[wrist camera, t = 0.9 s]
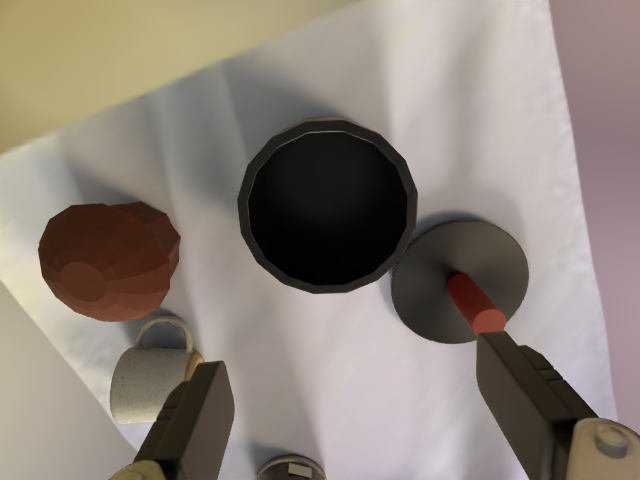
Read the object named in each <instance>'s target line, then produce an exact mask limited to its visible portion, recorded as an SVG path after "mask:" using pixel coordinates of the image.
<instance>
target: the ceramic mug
mask: <svg viewBox="0 0 640 480" xmlns="http://www.w3.org/2000/svg"><path fill="white" fill-rule="evenodd" d="M155 322H168V323H171V324H172V325H174V326H178V327H179V328H181V329H182V331H183V333H184V335H185V340H186V349H162V348H150V347H149V348H146V347H145V348H144V347H142V342H143V338H144V335H145V333H146V331H147V329H148V328H149V327H150V326H151V325H152V324H153V323H155ZM192 346H193V339H192V335H191V331H190V329H189V327H188V325H187V324H186V323H185V322H184V321H182V320H181V319H179V318H177V317H174V316H160V317H156V318H153V319H151V320H149V321H148V322H147V323H146V324H145V325H144V326H143V327H142V328H141V329H140V331H139V333H138V336H137V338H136V341H135V345H134V347H133V348H129V349H128V350H126V351H125V352H124V353H123V354H122V355H121V357H120V359H119V361H118V363H117V365H116V368H115V371H114V374H113V377H112V382H111V390H110V408H111V413H112V415H113V418H114V419H115V421H116V422H118V423H121V424H123V423H134V422H152V421H156V418H157V416H158V414H159V412H160V410H162V407H163V405H164V403H165V401H166V399H167V397H168V395H169V394H170V393H171V392H172V391H173V390H174V389H175V388H176V387H177V386H178V385H179V384H180V383H181V382H182V381H190V379H191V376H192V374H193V372H194V370H195V368H196V366H197V365H198V364H199V363H204V362H205V361H204V358H203V356H202V355H201V354H200V353H199V352H197V351H194V350H193V349H192Z"/></svg>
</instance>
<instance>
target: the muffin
mask: <svg viewBox="0 0 640 480" xmlns="http://www.w3.org/2000/svg"><path fill="white" fill-rule="evenodd" d="M180 238H181V237H180V235H179V234H178V233H177V231H176V230H175V229H174V227H173V226H172V224H171V222H170V220H169V218H168V216H167V214H165V213H162V212H160V211H157V210H155V209H153V208H151V207H149V206H148V205H146V204H144V203H143V202H136V203H131V204H124V205H111V206H107V205H105V204H85V205H72V206H70V207H68V208H67V209H65V210H64V211H62V212H60V213H59V214H57V215H56V216H54V217H53V218H51V219H49V222H48V224H47V226H46V229H45V231H44V233H43V235H42V238H41V240H40V242H39V248H38V253H39V259H40V265H41V272H42V277H43V278H44V280H45V281H46V283H47V284H48V286H49V288H50V289H51V291H52V292H53V294H54V295H55V297H56V298H58V299H59V300H60V301H62V302H63V303H64V304H66V305H67V306H68V307H69V308H71V309H72V310H73V311H75V312H77V313H79V314H82V315H85V316H88V317H91V318H94V319H97V320H100V321H109V322H114V321H133V320H138V319H140V318H142V317H144V316H145V315H147V314H149V313H151V312H153V311H155V310H156V309H158V308H159V306H160V304H161V303H162V301H163V299H164V298H165V296H166V294H167V293H168V291H169V289H170V279H171V277H172V275H173V272H174V270H175V268H176V266H177V264H178V262H179V243H180Z"/></svg>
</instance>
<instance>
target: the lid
mask: <svg viewBox="0 0 640 480" xmlns="http://www.w3.org/2000/svg"><path fill="white" fill-rule="evenodd" d="M528 279H529V271H528V264H527V259H526V257H525V254H524V252H523V250H522V248H521V247H520V245H519V244H518V243H517V241H516V240H515V239H514V238H513V237H512V236H511V235H509V234H508V233H507V232H505V231H504V230H502V229H501V228H499V227H497V226H495V225H493V224H490V223H487V222H484V221H478V220H454V221H450V222H446V223H443V224H440V225H437V226H435V227H433V228H431V229H429V230H427V231H425V232H424V233H422V234H421V235H419V236H418V237H417V238H416V239H415V240H413V241H412V242H411V243H410V244H409V245H408V247H407V248H406V250H405V252H404V254H403V256H402V257H401V259H400V260H399V261H398V262H397V263H396V266H395V268H394V271H393V275H392V281H391V295H392V300H393V304H394V306H395V309H396V312H397V313H398V315H399V317H400V319H401V320H402V321H403V323H404V324H405V325H406V326H407V327H408V328H409V329H410V330H412V331H413V332H414V333H416V334H417V335H419V336H421V337H423V338H425V339H428V340H430V341H434V342H438V343H445V344H459V343H466V342H471V341H475V340H477V335H478V334H479V333H484V332H493V331H502V330H503V329H504V327H505V325H506V322H507V321H509V320H510V318H511V317H512V316H513V315H514V314H515V312H516V311H517V310H518V308H519V307H520V305H521V303H522V301H523V299H524V296H525V294H526V291H527V286H528Z"/></svg>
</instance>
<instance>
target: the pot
mask: <svg viewBox="0 0 640 480" xmlns="http://www.w3.org/2000/svg"><path fill="white" fill-rule="evenodd" d="M417 199H418V192H417V189H416V187H415V184H414V181H413V179H412V176H411V174H410V171H409V168H408V166H407V163H406V160H405V159H404V158H403V157H402V156H401V155H400V154H399V153H398V152H397V151H396V150H395V149H394V148H393V147H392V146H391V145H390V144H389V143H388V142H387V141H386V140H385V139H384V138H383V137H382V136H381V135H380V134H378V133H377V132H375V131H372V130H370V129H368V128H366V127H364V126H361V125H358V124H356V123H353V122H351V121H348V120H346V119H343V118H341V117H314V118H307V119H305V120H303V121H301V122H299V123H297V124H295V125H293V126H291V127H289V128H287V129H285V130H283V131H282V132H280V133H278V134H277V135H275V136H274V137H272V138H271V139H270V140H269V141H268V142H267V144H266V145H265V146H264V147H263V148H262V149H261V151H260V152H259V153H258V154H257V155H256V156H255V158H254V159H253V160H252V161H251V162H250V163H249V165H248V166H247V169H246V172H245V176H244V179H243V182H242V186H241V189H240V192H239V195H238V199H237V202H238V211H239V220H240V229H241V233H242V234H241V235H242V236H243V238H244V240H245V242H246V244H247V245H248V247H249V249H250V251H251V253H252V254H253V256H254V258H255V260H256V261H257V263H258V264H259V265H261V266H262V267H263V268H264V269H265V270H267V271H268V272H269V273H270V274H272V275H273V276H274V277H275V278H276V279H278V280H279V281H280V282H281V283H283V284H285V285H288V286H291V287H294V288H297V289H300V290H303V291H306V292H309V293H312V294H332V293H348V292H350V291H353V290H355V289H358V288H360V287H363V286H365V285H368V284H370V283H372V282H375V281H377V280H378V279H380V278H381V277H382V276H383V275H384V274H385V273H386V272H387V271H388V270H389V269H390V268H391V267H392V266H393V265H395V264H396V263H397V262H398V261H399V260H400V259H401V257H402V256H403V254H404V252H405V250H406V247H407V245H408V243H409V241H410V239H411V237H412V235H413V233H414V231H415V228H416V220H417Z"/></svg>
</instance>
